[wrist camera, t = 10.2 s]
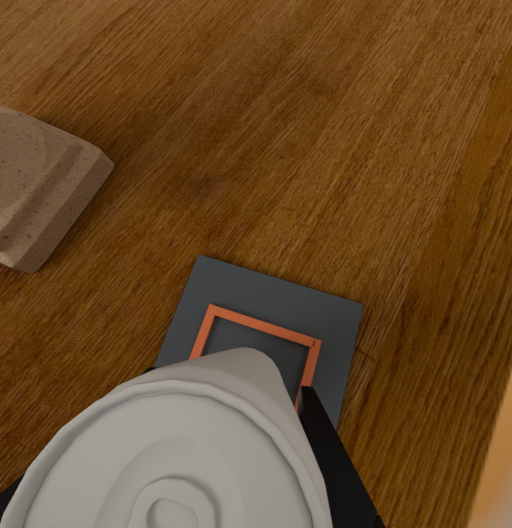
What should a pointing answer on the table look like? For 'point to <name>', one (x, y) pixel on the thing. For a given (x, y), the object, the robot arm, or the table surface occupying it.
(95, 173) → the candle holder
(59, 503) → the beverage can
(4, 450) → the table surface
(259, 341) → the word mat
